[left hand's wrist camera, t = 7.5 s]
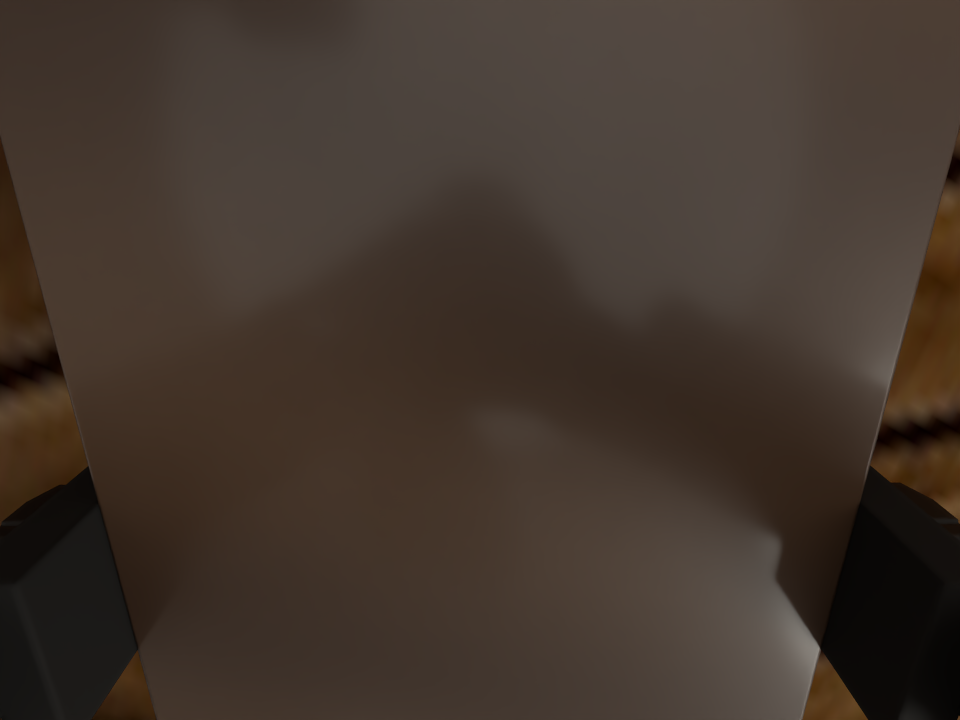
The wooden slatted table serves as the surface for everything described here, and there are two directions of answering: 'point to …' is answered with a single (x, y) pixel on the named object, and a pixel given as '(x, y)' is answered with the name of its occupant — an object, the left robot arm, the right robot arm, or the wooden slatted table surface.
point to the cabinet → (479, 334)
